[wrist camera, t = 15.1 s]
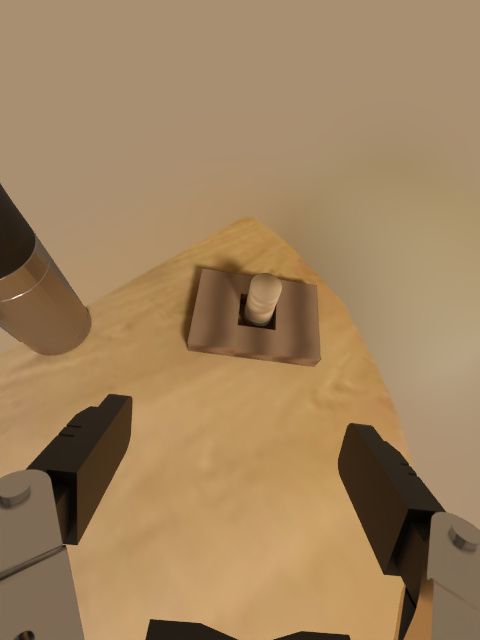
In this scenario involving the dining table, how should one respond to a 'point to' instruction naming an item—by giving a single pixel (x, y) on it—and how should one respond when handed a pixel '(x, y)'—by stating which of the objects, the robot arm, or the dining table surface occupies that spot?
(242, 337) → the board
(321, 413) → the dining table surface
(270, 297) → the peg
